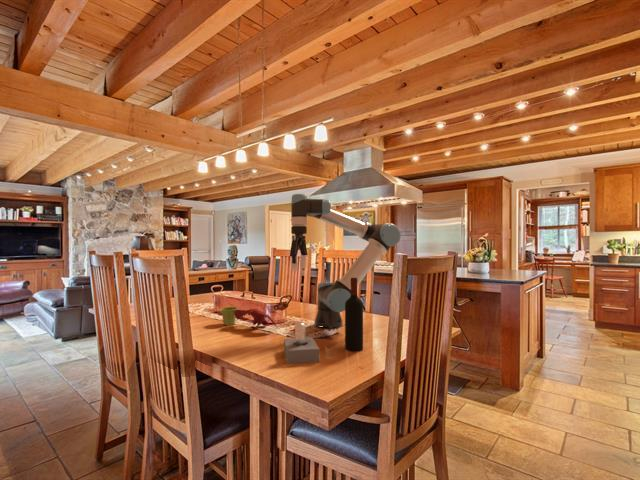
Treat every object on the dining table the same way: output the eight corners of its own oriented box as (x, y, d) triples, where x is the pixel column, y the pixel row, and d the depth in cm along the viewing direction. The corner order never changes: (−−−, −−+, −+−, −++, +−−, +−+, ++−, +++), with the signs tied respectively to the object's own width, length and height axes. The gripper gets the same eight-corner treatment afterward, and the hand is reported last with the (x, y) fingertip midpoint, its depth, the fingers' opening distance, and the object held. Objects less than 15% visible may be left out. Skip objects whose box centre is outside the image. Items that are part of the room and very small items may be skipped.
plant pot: (218, 326, 185) (218, 310, 185) (223, 322, 194) (223, 306, 194) (235, 326, 185) (235, 310, 185) (239, 322, 194) (239, 306, 194)
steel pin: (304, 351, 140) (304, 321, 139) (305, 354, 136) (305, 324, 136) (295, 351, 139) (294, 322, 139) (295, 355, 136) (295, 325, 135)
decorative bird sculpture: (240, 331, 190) (225, 315, 182) (249, 318, 196) (235, 301, 187) (279, 340, 174) (265, 322, 165) (288, 325, 179) (274, 307, 171)
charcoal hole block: (312, 348, 147) (312, 337, 147) (319, 362, 131) (319, 348, 131) (283, 350, 144) (283, 338, 144) (287, 364, 129) (287, 350, 129)
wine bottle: (341, 348, 147) (341, 278, 147) (352, 344, 152) (352, 276, 152) (355, 352, 142) (355, 279, 142) (366, 348, 147) (366, 277, 147)
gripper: (299, 226, 183) (299, 267, 183) (282, 224, 159) (282, 271, 159) (313, 226, 181) (313, 267, 181) (298, 224, 157) (298, 271, 157)
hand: (299, 269), depth 170 cm, fingers open, 13 cm apart
